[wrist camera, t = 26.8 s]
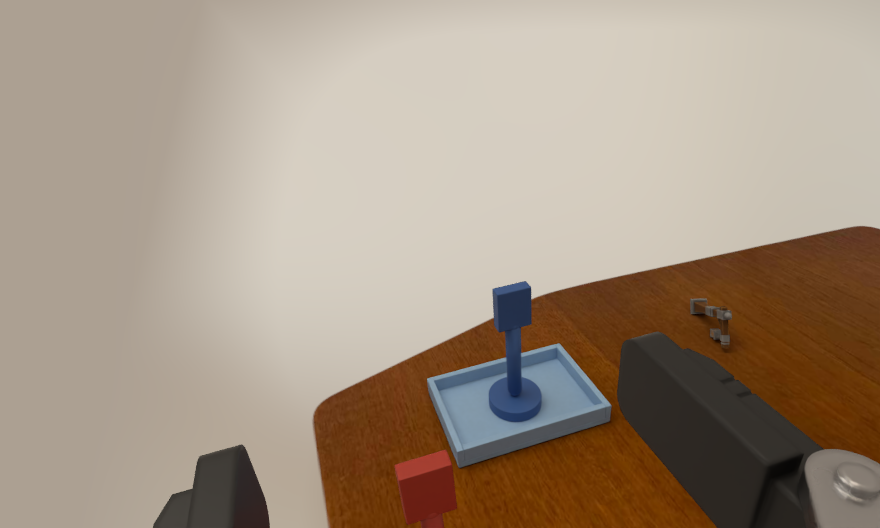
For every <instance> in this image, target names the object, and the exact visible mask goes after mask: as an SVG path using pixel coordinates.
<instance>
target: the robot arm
mask: <svg viewBox="0 0 880 528" xmlns="http://www.w3.org/2000/svg"><path fill="white" fill-rule="evenodd" d="M617 397H618V402H619V406H620V409H621V411H622V413H623V415H624V417H625V418H626V420H627V421H628V422H629V424H630V425H631V426H632V427H633V428H634V430H635V431H636V432H637V433H638V434H639V435H640V437H641V438H642V439H643V440H644V441H645V443H646V444H647V445H648V446H649V447H650V448H651V450H652V451H653V452H654V453H655V454H656V456H657V457H658V458H659V459H660V460H661V461H662V463H663V464H664V465H665V466H666V467H667V468H668V470H669V471H670V472H671V473H672V474H673V476H674V477H675V478H676V479H677V480H678V481H679V483H680V484H681V485H682V486H683V487H684V489H685V490H686V491H687V492H688V493H689V494H690V496H691V497H692V498H693V499H694V500H695V502H696V503H697V504H698V505H699V506H700V507H701V509H702V510H703V511H704V512H705V513H706V515H707V516H708V517H709V518H710V519H711V520H712V522H713V523H714V524H715V525H716V526H717V527H718V528H880V464H879V463H877V462H875V461H873V460H871V459H869V458H867V457H864V456H862V455H859V454H856V453H853V452H849V451H845V450H837V449H826V450H824V449H823V448H822V447H820V446H819V445H818V444H816V443H815V442H814V441H813V440H811V439H810V438H809V437H808V436H807V435H805V434H804V433H803V432H802V431H800V430H799V429H798V428H797V427H795V426H794V425H793V424H792V423H791V422H789V421H788V420H787V419H786V418H784V417H783V416H782V415H781V414H779V413H778V412H777V411H776V410H774V409H773V408H772V407H771V406H770V405H768V404H767V403H766V402H765V401H763V400H762V399H761V398H760V397H758V396H757V395H756V394H752V393H751V390H750V389H749V388H747V387H746V386H745V385H744V384H742V383H741V382H740V381H739V380H735V379H734V376H733V375H731V374H730V373H729V372H728V371H726V370H725V369H724V368H723V367H721V366H720V365H719V364H718V363H717V362H715V361H714V360H712V359H710V358H708V357H706V356H704V355H701V354H699V353H697V352H695V351H693V350H691V349H688V348H687V349H684V350H683V349H681V348H680V347H679V346H678V345H677V344H675V343H674V342H673V341H672V340H671V339H670V338H668V337H667V336H666V335H665V334H663V333H661V332H654V333H651V334H647V335H643V336H640V337H636V338H632V339H629V340H626V341H625V342H624V343H623V345H622V349H621V359H620V369H619V380H618V390H617ZM269 525H270V524H269V515H268V510H267V505H266V501H265V497H264V495H263V492H262V489H261V487H260V484H259V482H258V479H257V477H256V474H255V471H254V469H253V466H252V464H251V461H250V459H249V456H248V453H247V451H246V449H245V447H244V446H243V445H238V446H235V447H231V448H227V449H224V450H220V451H216V452H213V453H210V454H206V455H202V456H200V457H199V459H198V462H197V466H196V471H195V478H194V484H193V489H190V490H186V491H183V492H180V493H176V494H173V495H172V496H171V497H170V499H169V501H168V502H167V504H166V505H165V507H164V509H163V510H162V512H161V513H160V515H159V517H158V518H157V520H156V522H155V523H154V526H153V528H270V526H269Z"/></svg>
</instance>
